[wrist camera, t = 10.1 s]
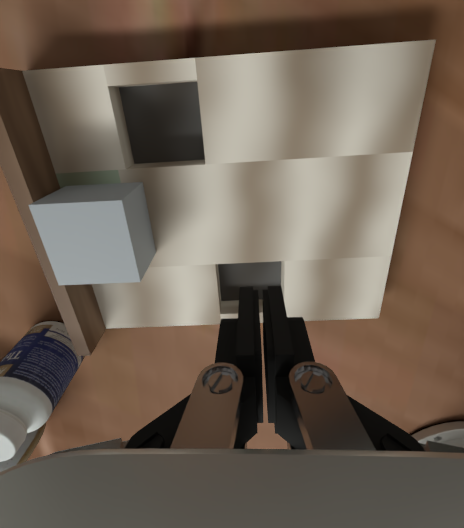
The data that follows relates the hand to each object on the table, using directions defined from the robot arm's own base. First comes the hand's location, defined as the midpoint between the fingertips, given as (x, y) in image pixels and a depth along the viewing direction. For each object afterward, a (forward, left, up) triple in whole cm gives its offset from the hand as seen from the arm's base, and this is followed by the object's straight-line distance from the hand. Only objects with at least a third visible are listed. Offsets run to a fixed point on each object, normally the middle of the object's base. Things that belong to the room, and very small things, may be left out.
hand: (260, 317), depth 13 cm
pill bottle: (+18, +11, -12) cm, 24 cm away
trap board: (+2, -1, -12) cm, 12 cm away
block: (+9, -1, -10) cm, 13 cm away
